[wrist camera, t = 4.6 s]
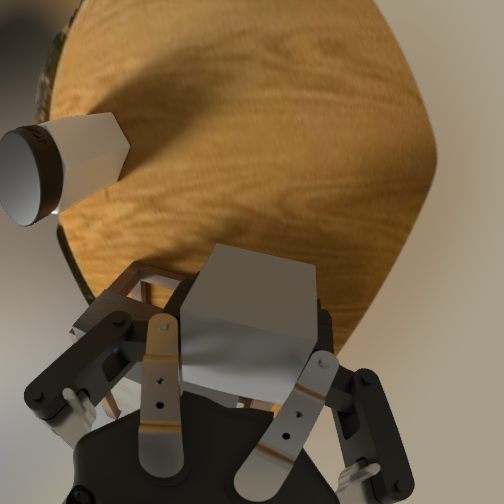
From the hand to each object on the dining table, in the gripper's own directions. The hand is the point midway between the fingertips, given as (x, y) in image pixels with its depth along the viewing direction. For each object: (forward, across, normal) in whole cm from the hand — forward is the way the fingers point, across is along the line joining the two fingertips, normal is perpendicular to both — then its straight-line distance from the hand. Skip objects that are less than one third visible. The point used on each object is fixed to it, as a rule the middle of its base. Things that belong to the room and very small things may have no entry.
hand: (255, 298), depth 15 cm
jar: (+13, +20, -3) cm, 24 cm away
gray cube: (+1, 0, 0) cm, 1 cm away
